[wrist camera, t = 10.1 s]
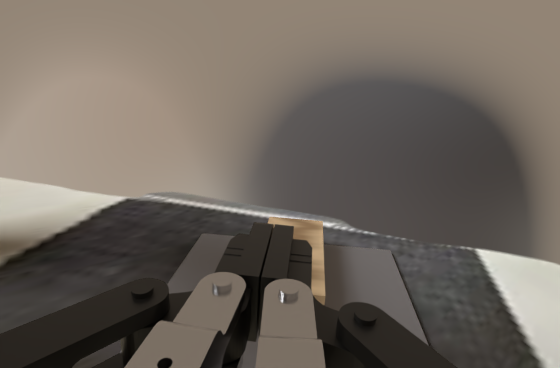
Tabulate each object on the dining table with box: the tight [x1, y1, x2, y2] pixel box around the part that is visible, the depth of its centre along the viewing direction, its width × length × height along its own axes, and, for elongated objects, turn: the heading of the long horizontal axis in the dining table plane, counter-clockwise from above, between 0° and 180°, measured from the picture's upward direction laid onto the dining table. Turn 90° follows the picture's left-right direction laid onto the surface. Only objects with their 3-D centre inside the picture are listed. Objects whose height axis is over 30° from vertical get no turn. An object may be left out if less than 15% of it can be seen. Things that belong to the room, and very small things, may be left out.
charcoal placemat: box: [120, 233, 429, 368], centre depth 32 cm, size 22×20×1 cm
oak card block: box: [268, 217, 325, 305], centre depth 34 cm, size 6×3×14 cm
